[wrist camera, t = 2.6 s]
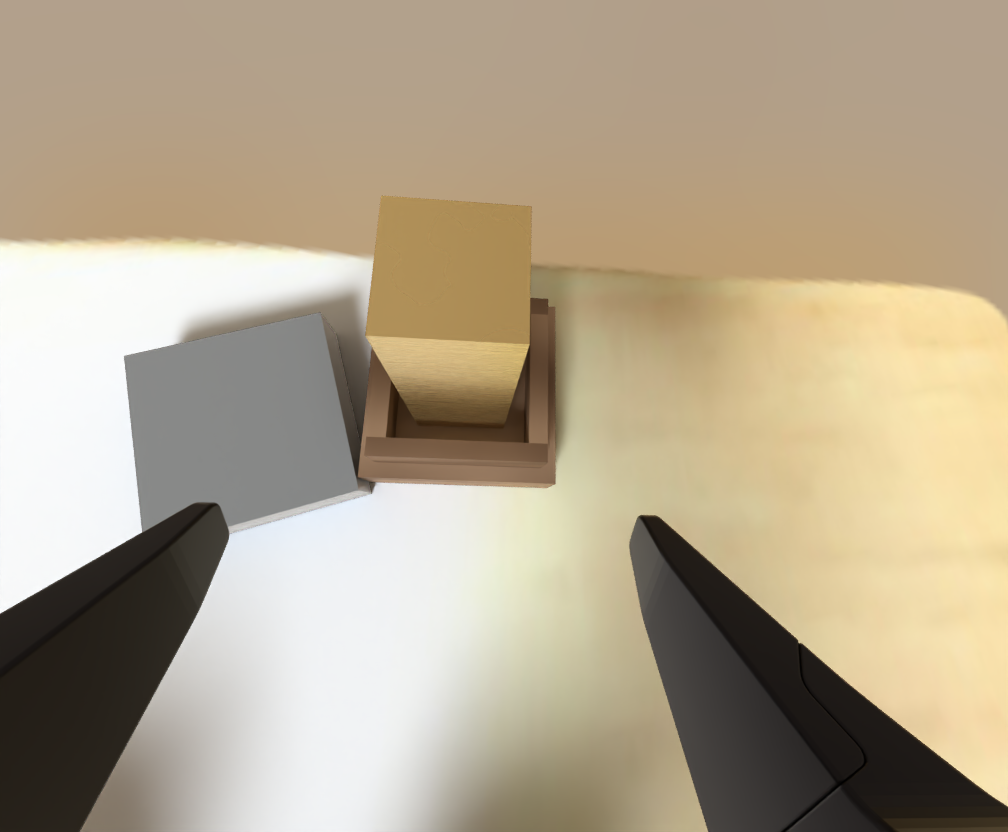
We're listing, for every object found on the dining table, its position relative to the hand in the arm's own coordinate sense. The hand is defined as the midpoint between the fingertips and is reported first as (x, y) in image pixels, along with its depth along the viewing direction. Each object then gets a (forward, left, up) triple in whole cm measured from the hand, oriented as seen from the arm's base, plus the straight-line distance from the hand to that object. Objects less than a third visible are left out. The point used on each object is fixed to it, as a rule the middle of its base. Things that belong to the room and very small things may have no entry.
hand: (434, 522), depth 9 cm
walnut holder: (+4, +5, -13) cm, 14 cm away
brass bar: (+4, +5, -10) cm, 12 cm away
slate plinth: (-5, +10, -13) cm, 17 cm away
